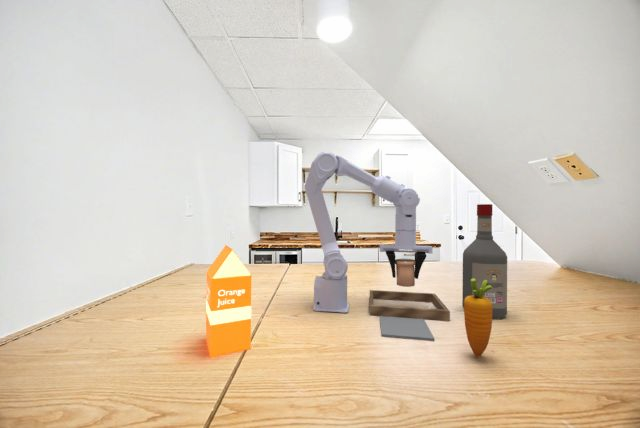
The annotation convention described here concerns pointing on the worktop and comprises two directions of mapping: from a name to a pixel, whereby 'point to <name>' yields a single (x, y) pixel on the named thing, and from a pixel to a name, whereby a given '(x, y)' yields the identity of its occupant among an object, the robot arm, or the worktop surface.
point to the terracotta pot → (405, 272)
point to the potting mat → (405, 328)
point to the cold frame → (408, 312)
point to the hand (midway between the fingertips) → (405, 277)
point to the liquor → (486, 264)
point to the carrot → (478, 318)
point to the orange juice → (228, 305)
